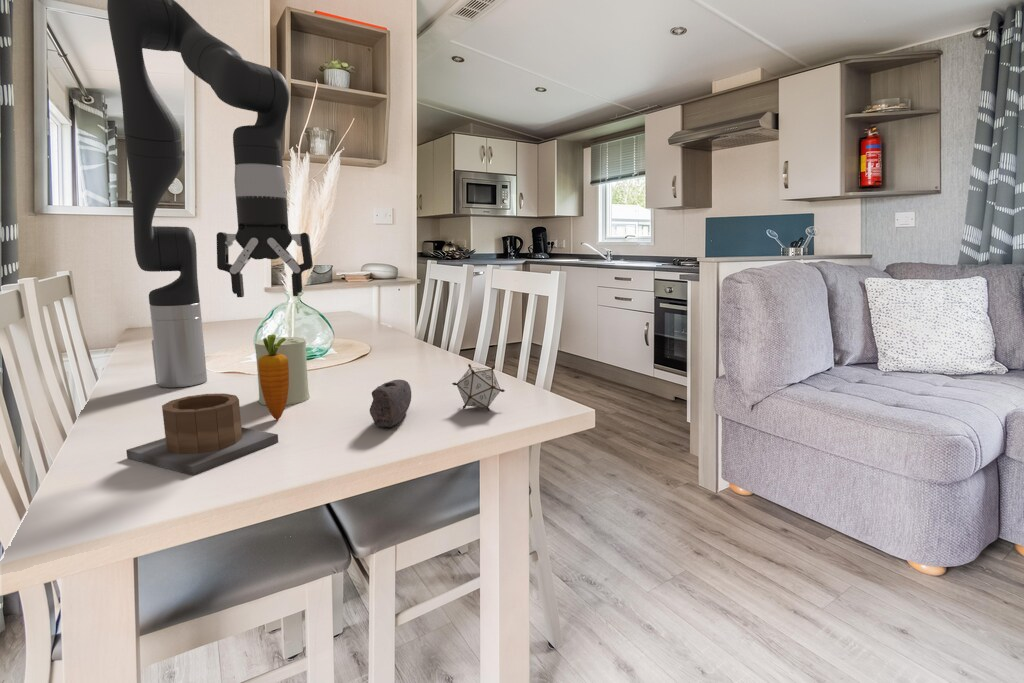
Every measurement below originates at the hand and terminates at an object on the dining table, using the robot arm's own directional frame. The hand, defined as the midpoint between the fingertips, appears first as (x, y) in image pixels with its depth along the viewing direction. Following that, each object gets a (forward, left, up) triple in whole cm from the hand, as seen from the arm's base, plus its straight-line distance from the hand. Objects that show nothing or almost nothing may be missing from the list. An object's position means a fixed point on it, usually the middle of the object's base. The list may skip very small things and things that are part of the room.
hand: (268, 296), depth 94 cm
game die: (+28, +21, -21) cm, 41 cm away
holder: (+2, -15, -21) cm, 26 cm away
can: (-9, +10, -21) cm, 25 cm away
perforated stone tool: (+18, +9, -22) cm, 29 cm away
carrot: (0, 0, -21) cm, 21 cm away
